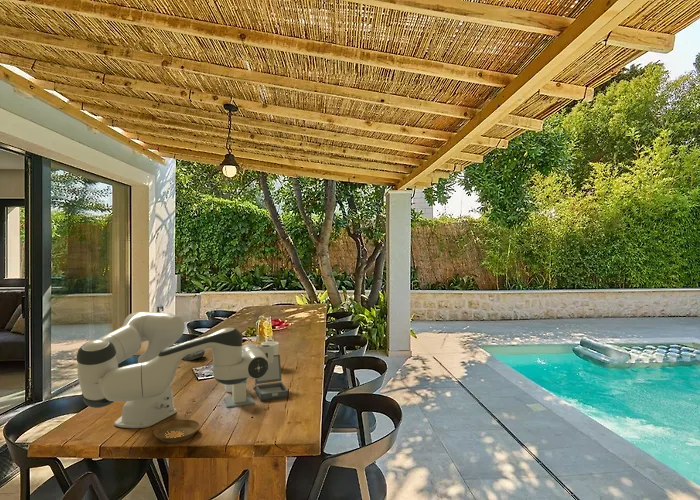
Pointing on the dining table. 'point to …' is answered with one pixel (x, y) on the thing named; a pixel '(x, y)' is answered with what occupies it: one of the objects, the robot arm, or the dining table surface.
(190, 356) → the decorative stone
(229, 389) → the jar
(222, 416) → the dining table surface
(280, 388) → the case
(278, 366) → the grey picture frame
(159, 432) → the plant saucer
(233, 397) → the block
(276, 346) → the foam cup
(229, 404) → the mat
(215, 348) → the robot arm
